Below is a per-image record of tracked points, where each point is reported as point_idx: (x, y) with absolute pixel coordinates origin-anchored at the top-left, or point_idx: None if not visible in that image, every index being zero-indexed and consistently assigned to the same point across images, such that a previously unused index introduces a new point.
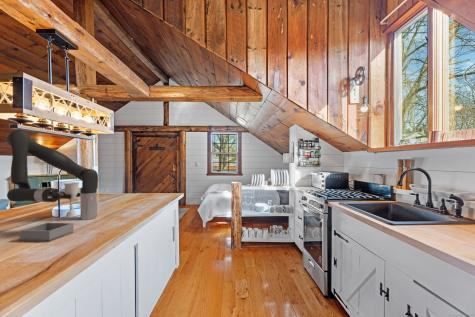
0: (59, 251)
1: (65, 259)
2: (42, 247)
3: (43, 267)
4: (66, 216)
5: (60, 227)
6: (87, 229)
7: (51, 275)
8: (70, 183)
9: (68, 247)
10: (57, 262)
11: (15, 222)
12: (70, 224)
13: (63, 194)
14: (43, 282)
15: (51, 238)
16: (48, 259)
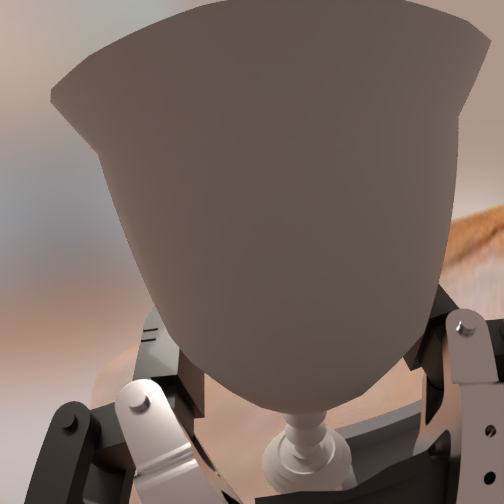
0: (470, 281)
1: (469, 238)
2: None
3: (501, 237)
4: (350, 459)
5: None
6: (246, 433)
7: (491, 213)
8: (111, 106)
9: (445, 289)
10: (482, 238)
11: None
12: (354, 424)
13: (455, 310)
14: (499, 208)
15: None
16: (494, 258)
